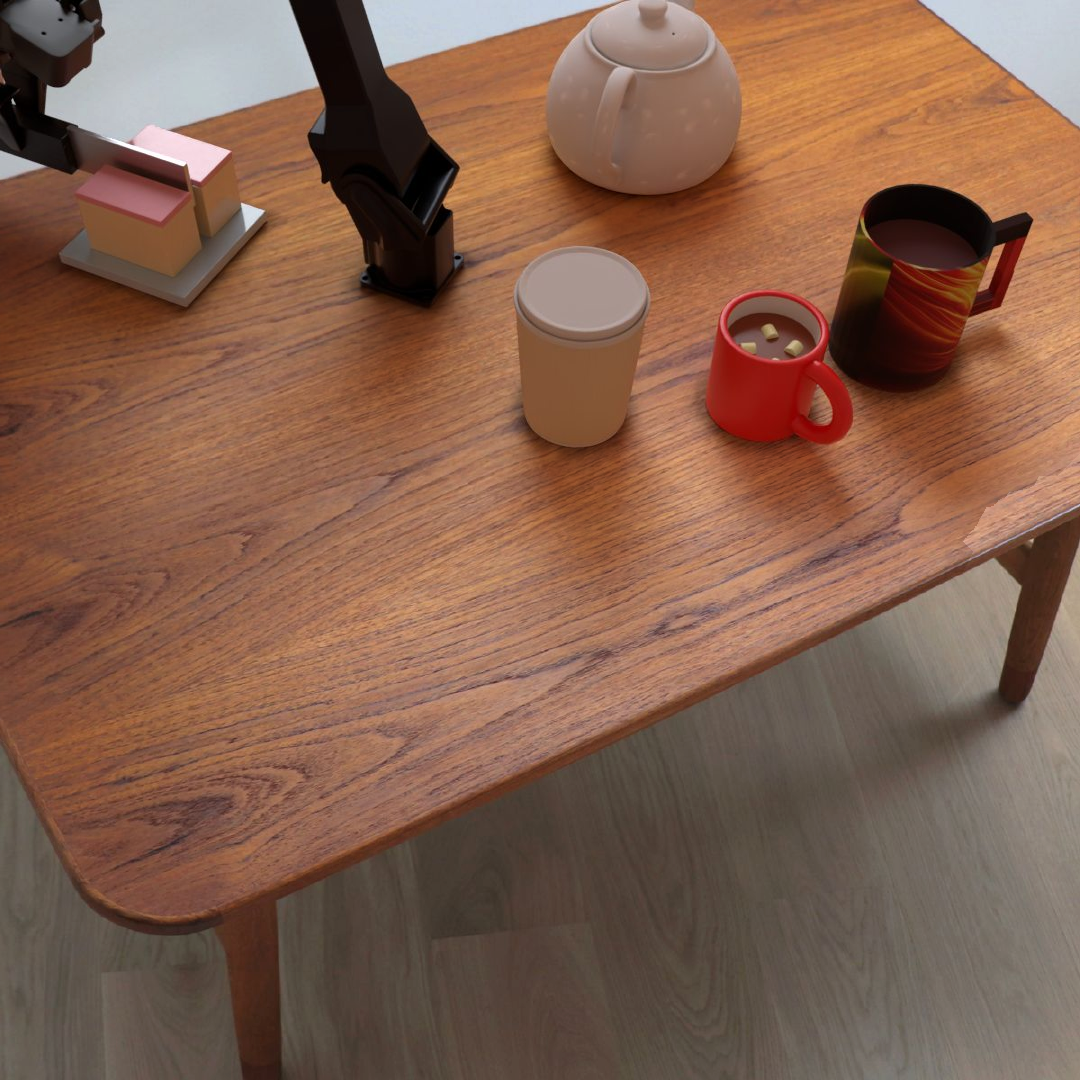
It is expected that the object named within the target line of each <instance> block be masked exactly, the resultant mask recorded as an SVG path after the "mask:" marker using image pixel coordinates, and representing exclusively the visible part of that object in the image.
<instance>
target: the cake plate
mask: <svg viewBox="0 0 1080 1080" xmlns="http://www.w3.org/2000/svg"><path fill="white" fill-rule="evenodd" d="M126 143H127V144H130V145H133V146H136V147H139V148H142V149H145V150H148V151H151V152H154V153H157V154H160V155H163V156H166V157H170V158H173V159H176V160H179V161H182V162H185V163H187V166H188V170H189V175H190V179H191V184H192V189H193V193H194V198H195V202H196V205H195V206H194V207H193V209H194V213H195V218H196V222H197V227H198V232H199V236H200V241H201V245H202V249H201V250H200V251H199V252H198V254H197V255H196V256H195V257H194V258H193V259H192V260H191V261H190V262H189V263H188V264H187V265H186V266H185V267H184V268H183V269H182V270H181V271H180V272H179V274H178V275H177V276H176V277H175V278H173V277H170V276H167V275H165V274H162V273H159V272H156V271H153V270H151V269H148V268H145V267H142V266H139V265H137V264H134V263H131V262H128V261H125V260H123V259H120V258H117V257H114V256H111V255H109V254H106V253H103V252H100V251H97V250H94V249H92V248H91V245H90V242H89V239H88V235H87V232H86V229H85V228H83V230H82V231H80V232H79V233H78V235H76V236H75V237H74V238H73V239H72V240H71V241H70V242H68V244H67V245H66V246H64V247H63V249H61V250H60V251H59V252H58V255H59V259H60V262H61V263H62V264H65V265H68V266H70V267H73V268H76V269H78V270H82V271H84V272H87V273H90V274H92V275H95V276H98V277H101V278H104V279H106V280H109V281H112V282H115V283H117V284H121V285H122V286H126V287H128V288H130V289H134V290H137V291H139V292H142V293H145V294H148V295H150V296H153V297H156V298H159V299H161V300H164V301H168V302H170V303H173V304H176V305H177V306H180V307H184V308H188V307H189V306H190V304H192V302H193V301H194V300H196V298H197V297H198V296H199V295H200V293H202V291H203V290H205V288H206V287H207V286H208V284H210V283H211V282H212V280H214V279H215V278H216V276H217V275H219V273H220V272H221V271H222V270H223V269H224V268H225V267H226V266H227V264H228V263H229V262H230V261H231V260H232V259H233V258H234V257H235V256H236V255H237V254H238V253H239V252H240V250H241V249H242V248H243V247H244V246H245V245H246V244H247V243H248V242H249V241H250V239H251V238H252V237H253V236H254V235H255V234H256V233H257V232H258V231H259V230H260V229H261V227H262V226H263V225H264V224H265V223H266V222H267V221H268V216H267V211H266V210H265V209H262V208H260V207H256V206H253V205H250V204H246V203H244V202H242V201H241V195H240V190H239V184H238V179H237V178H238V177H237V172H236V168H235V163H234V157H233V156H234V155H233V151H232V150H230V149H228V148H227V149H226V148H223V147H222V146H217V145H215V144H212V143H209V142H205V141H203V140H199V139H196V138H193V137H190V136H187V135H183V134H180V133H178V132H175V131H171V130H168V129H165V128H162V127H159V126H157V125H153V124H150V123H148V124H147V125H145V126H144V128H143V129H141V130H140V131H139V132H138V133H137V134H136V135H135V136H134V137H133V138H131V139H130V141H128V142H126Z"/></svg>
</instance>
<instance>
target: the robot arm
mask: <svg viewBox="0 0 1080 1080" xmlns="http://www.w3.org/2000/svg"><path fill="white" fill-rule="evenodd" d="M287 1H288V4H289V6H290V8H291V12H292V14H293V17H294V20H295V22H296V23H295V24H296V25H297V28H298V31H299V33H300V36H301V39H302V42H303V45H304V47H305V50H306V53H307V57H308V58H309V61H310V64H311V66H312V71H313V73H314V75H315V78H316V80H317V84H318V86H319V89H320V92H321V94H322V97H323V101H324V108H323V109H322V111H321V112H320V114H319V115H318V117H317V118H316V120H315V122H314V123H313V125H312V126H311V128H310V129H309V131H308V132H307V136H306V137H307V140H308V145H309V148H310V149H311V151H312V153H313V155H314V157H315V158H316V161H317V163H318V165H319V169H320V173H321V174H320V175H321V177H320V178H321V179H320V183H321V184H323V185H326V184H328V183H329V185H330V188H331V190H332V192H333V194H334V195H335V197H336V198H337V199H338V201H339V202H340V203H341V204H342V205H344V206H345V208H346V210H347V212H348V214H349V216H350V217H351V220H352V222H353V223H354V225H355V228H356V230H357V232H358V234H359V236H360V238H361V242H362V252H363V253H362V254H363V261H364V264H366V265H368V266H367V267H365V270H363V272H362V273H361V274H360V276H359V277H358V279H359V284H360V286H363V287H365V288H368V289H371V290H374V291H376V292H380V293H383V294H386V295H389V296H391V297H394V298H397V299H400V300H403V301H406V302H408V303H411V304H415V305H418V306H421V307H423V308H429V307H431V306H433V304H434V303H435V302H436V300H437V299H438V298H439V296H440V295H441V294H442V293H443V291H444V290H445V288H446V287H447V286H448V284H449V283H450V282H451V281H452V279H453V278H454V277H455V275H456V274H457V273H458V272H459V270H460V269H461V268H462V266H463V265H464V263H465V256H464V255H463V254H461V253H458V252H455V233H454V232H455V231H454V211H453V210H452V209H449V208H446V206H445V205H444V201H445V199H446V197H447V195H448V193H449V192H450V190H451V189H452V188H453V186H454V184H455V182H456V179H457V176H458V175H459V172H460V170H461V167H460V165H459V164H458V163H457V161H455V159H453V157H451V156H450V154H448V153H447V152H446V150H445V149H443V147H442V146H441V145H440V144H439V143H438V142H437V141H436V140H435V139H434V138H433V137H432V136H431V135H430V133H429V132H428V130H427V128H426V125H425V123H424V121H423V120H422V118H421V116H420V114H419V111H418V109H417V107H416V106H415V105H416V104H415V103H414V101H413V99H412V97H411V96H410V94H409V93H407V92H406V91H405V90H404V89H403V88H402V87H400V86H399V85H398V84H397V83H396V82H395V81H394V80H393V79H392V78H390V77H389V76H388V74H387V72H386V70H385V68H384V64H383V61H382V58H381V55H380V51H379V48H378V46H377V42H376V40H375V36H374V33H373V30H372V26H371V24H370V20H369V17H368V14H367V10H366V8H365V4H364V1H363V0H287ZM103 14H104V13H103V11H102V7H101V3H100V0H0V138H1V139H2V140H3V141H4V142H5V143H6V144H7V145H8V146H9V147H10V148H11V149H13V150H16V151H19V152H21V151H22V150H23V149H24V146H23V140H22V134H21V131H20V128H19V124H18V121H17V117H16V114H15V111H14V107H13V104H15V105H18V106H21V107H24V108H27V109H30V110H33V111H36V112H39V113H42V114H45V115H46V104H47V103H46V102H47V90H48V87H51V88H55V89H61V88H64V87H66V86H67V85H69V84H70V83H71V81H72V80H73V79H74V78H75V77H76V76H77V75H79V74H80V72H82V71H83V70H84V69H87V68H89V67H90V66H91V65H92V63H93V52H94V44H96V42H98V41H99V40H100V39H102V37H104V36H105V35H106V30H105V28H104V26H103ZM13 102H14V103H13Z"/></svg>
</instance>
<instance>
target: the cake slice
mask: <svg viewBox="0 0 1080 1080" xmlns="http://www.w3.org/2000/svg"><path fill="white" fill-rule="evenodd" d="M74 196H75V199H76V202H77V206H78V209H79V211H80V216H81V219H82V222H83V226H84V229H86V232H87V235H88V239H89V242H90V245H91V248H92V249H94V250H97V251H100V252H103V253H106V254H109V255H111V256H114V257H117V258H120V259H123V260H125V261H128V262H131V263H134V264H137V265H139V266H142V267H145V268H148V269H151V270H153V271H156V272H159V273H162V274H165V275H167V276H170V277H173V278H175V277H176V276H177V275H178V274H179V272H180V271H181V270H182V269H183V268H184V267H185V266H186V265H187V264H188V263H189V262H190V261H191V260H192V259H193V258H194V257H195V256H196V255H197V254H198V252H199V251H200V250H201V249H202V245H201V241H200V236H199V232H198V227H197V222H196V218H195V213H194V209H193V204H192V200H191V195H190V193H189V192H186V191H183V190H180V189H177V188H174V187H171V186H169V185H166V184H163V183H160V182H157V181H154V180H151V179H148V178H145V177H142V176H139V175H136V174H133V173H130V172H127V171H124V170H121V169H118V168H115V167H112V166H109V165H106V164H105V165H104V166H103V167H101V168H100V169H99V170H98V171H97V172H96V173H95V174H94V175H93V174H92V176H90V178H88V180H86V181H85V182H84V183H83V184H82V185H81V186H80V187H79V188H77V189H76V190H75V191H74Z"/></svg>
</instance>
